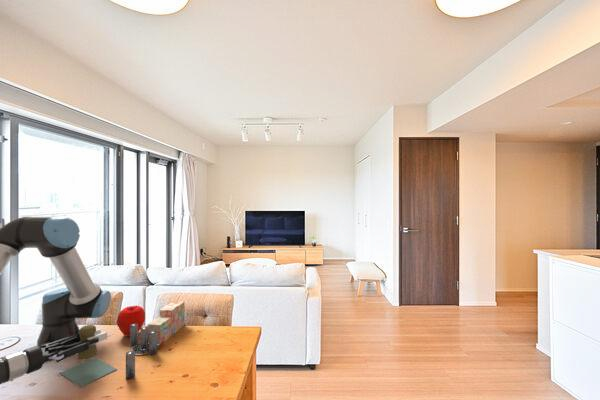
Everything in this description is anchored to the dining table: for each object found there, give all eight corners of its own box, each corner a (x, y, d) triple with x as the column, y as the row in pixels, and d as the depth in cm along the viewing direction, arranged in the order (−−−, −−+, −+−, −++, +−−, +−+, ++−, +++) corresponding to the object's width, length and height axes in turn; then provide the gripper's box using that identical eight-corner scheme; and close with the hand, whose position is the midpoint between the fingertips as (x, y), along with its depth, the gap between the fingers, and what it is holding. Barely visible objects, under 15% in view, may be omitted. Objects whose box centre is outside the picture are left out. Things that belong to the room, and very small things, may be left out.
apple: (124, 343, 131) (124, 313, 131) (111, 336, 137) (111, 308, 137) (150, 332, 141) (150, 305, 141) (136, 327, 147) (136, 300, 147)
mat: (59, 373, 108) (59, 372, 108) (95, 358, 119) (95, 357, 119) (80, 387, 100) (80, 386, 100) (116, 369, 110) (116, 368, 110)
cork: (86, 361, 105) (87, 330, 105) (73, 359, 106) (73, 328, 106) (101, 352, 111) (101, 323, 111) (88, 350, 112) (88, 322, 112)
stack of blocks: (160, 346, 129) (160, 318, 129) (146, 345, 130) (146, 317, 129) (184, 325, 150) (184, 301, 150) (173, 324, 151) (173, 300, 151)
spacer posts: (93, 361, 116) (93, 338, 116) (136, 342, 132) (136, 322, 132) (128, 380, 104) (128, 355, 104) (172, 357, 119) (172, 335, 119)
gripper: (14, 366, 98) (92, 338, 118) (34, 382, 89) (115, 349, 109) (14, 344, 98) (92, 319, 118) (34, 358, 89) (115, 329, 109)
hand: (103, 333), depth 113 cm, fingers closed on cork, 4 cm apart
